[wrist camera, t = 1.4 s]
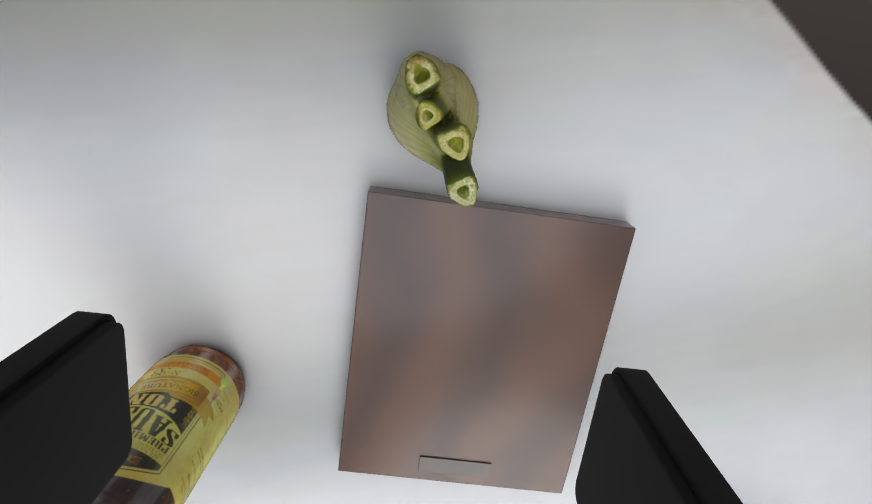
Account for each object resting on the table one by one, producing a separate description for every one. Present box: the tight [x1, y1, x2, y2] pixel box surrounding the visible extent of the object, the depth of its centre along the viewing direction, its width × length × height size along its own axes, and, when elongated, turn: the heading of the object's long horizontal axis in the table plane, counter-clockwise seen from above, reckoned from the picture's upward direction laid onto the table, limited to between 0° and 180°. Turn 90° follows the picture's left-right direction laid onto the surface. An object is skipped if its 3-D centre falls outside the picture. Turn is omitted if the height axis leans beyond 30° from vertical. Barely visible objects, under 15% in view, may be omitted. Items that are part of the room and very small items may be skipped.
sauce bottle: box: [92, 346, 245, 504], centre depth 27 cm, size 6×6×20 cm
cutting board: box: [338, 186, 635, 493], centre depth 35 cm, size 16×20×2 cm
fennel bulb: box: [387, 51, 478, 206], centre depth 25 cm, size 6×5×12 cm
